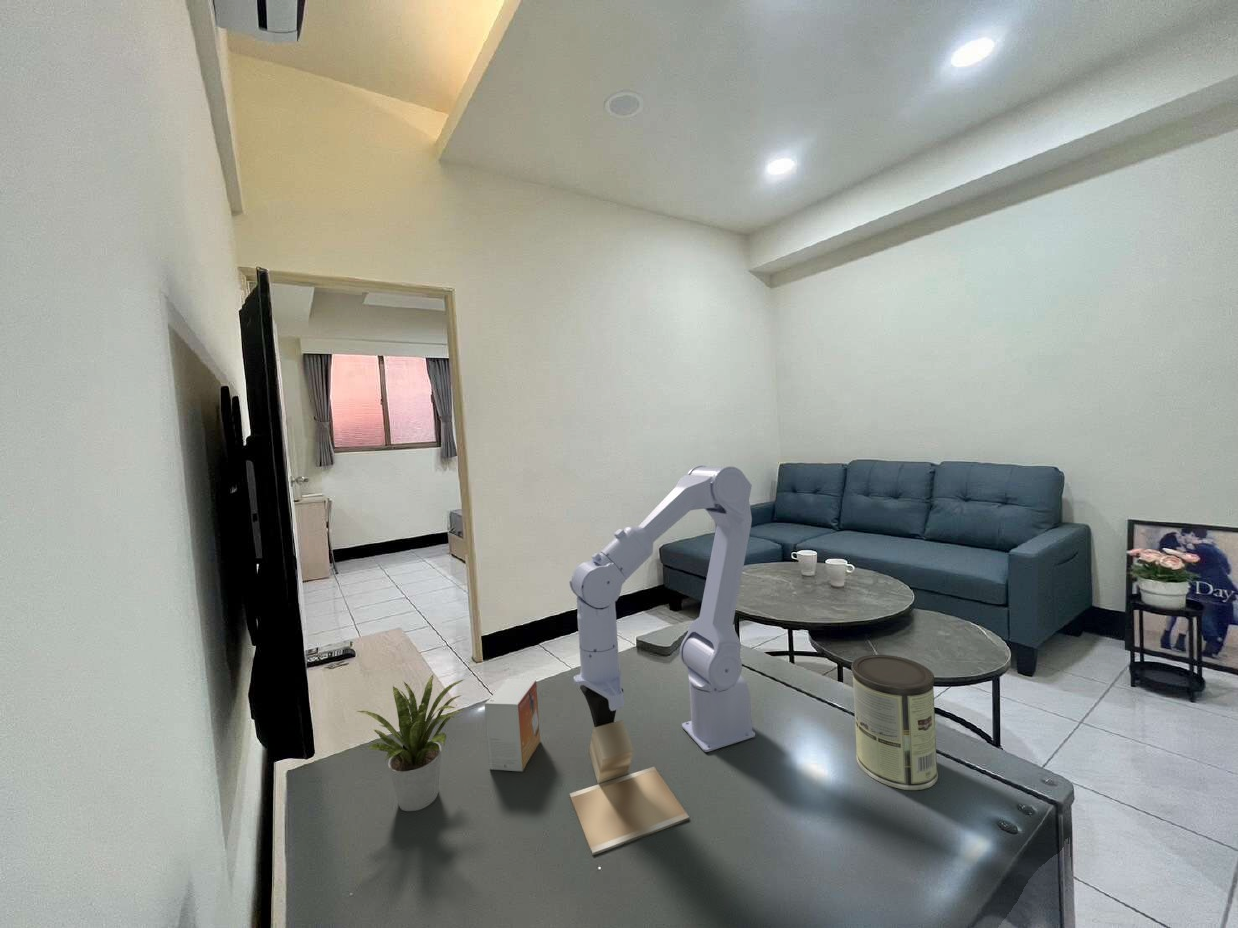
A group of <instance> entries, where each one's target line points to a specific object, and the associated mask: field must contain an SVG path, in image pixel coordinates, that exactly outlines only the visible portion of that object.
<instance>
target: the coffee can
mask: <svg viewBox="0 0 1238 928" xmlns="http://www.w3.org/2000/svg"><path fill="white" fill-rule="evenodd" d="M850 665H851V666H850V668H851V673H852V685H853V686H852V687H853V703H854V704H853V705H854V725H855V740H856V741H855V745H856V746H855V747H856V753H855V754H856V761H857V764H858V765H859V767H860V769H861V770H862V771H863V772H864V773H865V774H866V775H868V776H869V777H870V778H872V779H874V780H876V781H877V782H880V783H881V784H883V785H886V786H888V787H891V788H892V787H893V788H896V789H901V790H906V791H921V790H922V791H923V790H925V789H929V788H931V787H933V785H935V784H936V783H937V781H938V778H939V776H938V775H939V774H938V773H939V772H938V762H937V760H938V759H937V741H936V740H937V739H936V721H935V719H936V711H935V694H934V693H935V692H934V691H935V690H934V684H935V675H934V674H933V673H934V672H932V671H931V670H930V669H929V668H928V667H926V666H924V665H923V664H922V663H919V662H917V661H915V660H914V661H913V660H911V659H908V658H904V657H901V656H900V657H899V656H897V655H896V656H895V655H887V654H868V655H863V656H860V657H857V658H856V659H855V660H853V661H852V663H851V664H850Z"/></svg>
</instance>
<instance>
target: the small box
mask: <svg viewBox="0 0 1238 928" xmlns="http://www.w3.org/2000/svg"><path fill="white" fill-rule="evenodd" d="M537 687H538V686H537V680H535V679H517V678H516V679H515V678H513V679H512V678H507V679H505V680H504V681H503V682H502V684H501V685H500V686H499V687H498V689H496V691H495V692H494V693H493V694H492V695H491V696H490V697H489V699H487V701H485V702H484V713H485V717H484V718H485V727H486V740H487V755H488V767H489V770H495V771H509V772H511V771H512V772H523V771H524V769H525V768H526V766H527V764H528V763H529V761H530V759H531V758H532V756H533V754H534V752H535V751H536V749H537V747H538V746H539V744H540V743H541V734H540V733H541V731H540V718H539V705H538V704H539V703H538V702H539V699H538V688H537Z"/></svg>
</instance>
